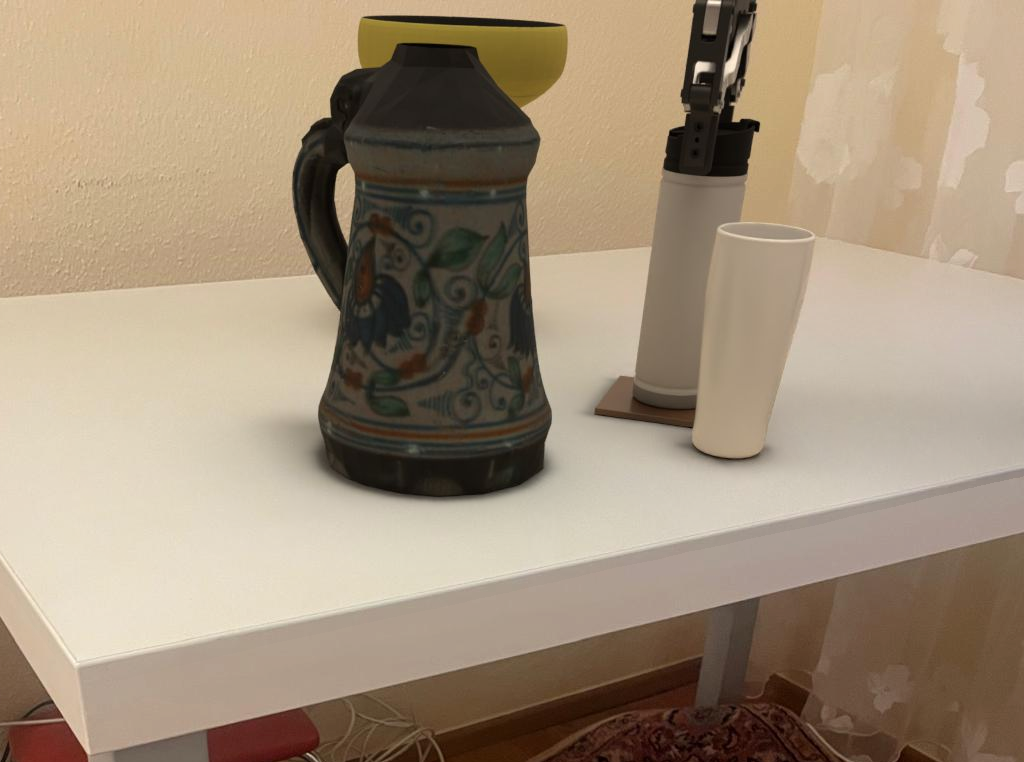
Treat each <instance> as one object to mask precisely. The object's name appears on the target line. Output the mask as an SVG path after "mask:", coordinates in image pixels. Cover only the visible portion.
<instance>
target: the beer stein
mask: <svg viewBox="0 0 1024 762" xmlns="http://www.w3.org/2000/svg"><path fill="white" fill-rule="evenodd" d="M329 109H330V110H329V111H330V117H329V116H328V117H322V118H320V119H318V120H316V121H315V122H314V123H313V124H311V125H310V127H309V130H307V132H306V133H305V135H304V136H303V137H302V138H301V139H300V140H301V147H300V150H299V151H298V153H297V157H296V159H295V162H294V165H293V170H292V177H291V197H292V205H293V210H294V215H295V219H296V224H297V229H298V233H299V237H300V240H301V241H302V244H303V246H304V249H305V251H306V254H307V256H308V259H309V261H310V264H311V266H312V268H313V270H314V272H315V274H316V276H317V278H318V279H319V282H320V283H321V284H322V286H323V288H324V290H325V292H326V293H327V295H328V297H329V298H330V300H331V301H332V303H333V304H334V306H335V307H336V309H337V310H338V311H339V320H338V326H337V335H336V340H335V345H334V350H333V356H332V362H331V364H330V370H329V374H328V378H327V381H326V385H325V388H324V390H323V392H322V395H321V397H320V401H319V403H318V409H317V410H318V411H317V421H318V425H319V429H320V432H321V435H322V439H323V442H324V446H325V448H324V449H325V455H326V457H327V460H328V463H329V467H330V468H331V469H333V470H335V472H337V473H339V474H340V475H342V476H343V477H345V478H346V479H348V480H351V481H354V482H356V483H359V484H362V485H364V486H369V487H373V488H378V489H381V490H386V491H390V492H395V493H400V494H408V495H418V496H419V495H420V496H429V497H430V496H431V497H448V496H466V495H482V494H487V493H491V492H495V491H499V490H503V489H507V488H510V487H514V486H518V485H521V484H523V483H524V482H526V481H527V480H528V479H530V478H531V477H533V476H534V475H535V474H537V473H539V472H540V471H541V470H543V469H544V466H545V465H544V464H545V449H546V447H545V446H546V441H547V438H548V435H549V432H550V429H551V426H552V423H553V411H552V407H551V403H550V401H549V398H548V396H547V393H546V389H545V386H544V382H543V378H542V373H541V368H540V367H541V366H540V363H539V356H538V355H539V354H538V348H537V347H538V346H537V337H536V330H535V329H536V328H535V319H534V307H533V297H532V296H533V295H532V281H531V280H532V279H531V278H532V277H531V263H530V244H529V243H530V242H529V222H528V220H529V219H528V207H527V206H528V204H527V190H528V189H527V187H528V180H529V175H530V174H531V172H532V170H533V169H534V166H535V165H536V162H537V157H538V153H539V149H540V146H541V142H542V141H541V140H542V137H541V135H540V133H539V131H538V130H537V129H536V128H535V126H534V125H533V122H532V120H531V117H530V116H528V115H527V113H526V112H525V111H524V110H522V108H519V107H518V106H517V105H516V104H515V103H514V102H513V101H512V100H511V99H510V98H509V97H508V96H507V95H506V94H505V93H504V92H503V91H502V90H501V89H500V88H499V87H498V85H497V84H496V83H495V81H494V80H493V78H492V77H491V76H490V74H489V73H488V71H487V70H486V69H485V67H484V66H483V65H482V63H481V62H480V60H479V56H478V52H477V48H476V47H472V46H465V45H452V44H434V43H399V44H397V45H396V48H395V50H394V53H393V55H392V58H391V60H389V61H388V62H387V63H385V64H384V65H383V66H381V67H374V68H362V67H361V68H355V69H353V70H351V71H349V72H347V73H344V74H343V75H341V77H340V78H339V79H338V81H337V83H336V84H335V86H334V88H333V90H332V93H331V96H330V98H329ZM348 164H349V165H350V168H351V169H352V171H353V173H354V174H353V175H354V199H353V206H352V213H351V220H350V227H349V228H350V229H349V237H348V242H347V241H346V240H347V239H346V237H345V236H344V234H343V231H342V227H341V224H340V222H339V219H338V212H337V206H336V200H335V196H336V185H337V184H336V183H337V176H338V173H339V170H341V169H342V168H344V167H345V166H347V165H348Z"/></svg>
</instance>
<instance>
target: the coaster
mask: <svg viewBox="0 0 1024 762" xmlns="http://www.w3.org/2000/svg"><path fill="white" fill-rule="evenodd" d="M634 377H635V376H627V375H619V376H618V378H616V380H615V382H614V383H613V384H612V385H611V387H610V388H609V389H608V391H607V392H606V393H605V395H604V396H603V397H602V399H601V400H600V401H599V402H598V403H597V405H596V406H595V407H594V412H593V413H594V414H595V415H599V416H607V417H615V418H621V419H628V420H637V421H643V422H651V423H659V424H665V425H673V426H680V427H687V428H693V425H694V419H695V411H696V408H695V409H686V410H674V409H664V408H658V407H653V406H649V405H646V404H644V403H642V402H640V401H638V400H637V399H636V398H635V397H634V396H633V393H632V391H633V384H634Z"/></svg>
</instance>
